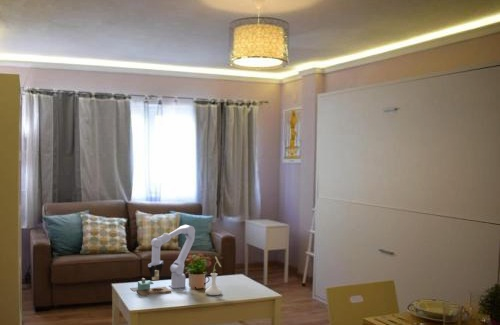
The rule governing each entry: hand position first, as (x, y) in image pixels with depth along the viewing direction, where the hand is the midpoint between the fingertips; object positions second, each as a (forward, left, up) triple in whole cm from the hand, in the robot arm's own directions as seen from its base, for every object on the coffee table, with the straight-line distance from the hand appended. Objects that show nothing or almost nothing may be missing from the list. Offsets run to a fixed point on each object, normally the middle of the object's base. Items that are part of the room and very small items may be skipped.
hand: (155, 275), depth 352 cm
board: (+3, +7, -9) cm, 12 cm away
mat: (+10, -5, -9) cm, 15 cm away
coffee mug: (-30, +9, -10) cm, 33 cm away
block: (0, 0, -2) cm, 2 cm away
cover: (+9, +7, -8) cm, 14 cm away
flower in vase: (-32, +27, -10) cm, 43 cm away
